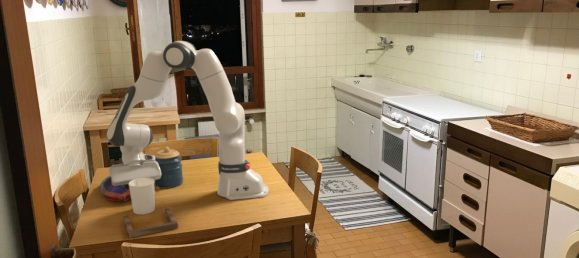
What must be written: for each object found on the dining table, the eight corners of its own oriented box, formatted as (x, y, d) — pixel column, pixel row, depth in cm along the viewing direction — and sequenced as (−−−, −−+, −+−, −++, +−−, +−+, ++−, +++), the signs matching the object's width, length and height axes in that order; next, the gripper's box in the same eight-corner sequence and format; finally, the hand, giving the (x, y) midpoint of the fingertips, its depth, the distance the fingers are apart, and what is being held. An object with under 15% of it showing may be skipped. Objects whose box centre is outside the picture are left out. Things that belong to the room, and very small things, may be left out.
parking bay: (124, 221, 177) (123, 216, 177) (169, 212, 184) (168, 207, 184) (129, 238, 164) (129, 232, 163) (178, 228, 171) (177, 223, 170)
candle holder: (125, 213, 184) (122, 184, 182) (142, 204, 193) (139, 176, 190) (146, 216, 181) (143, 187, 178) (161, 207, 190) (159, 179, 187)
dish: (136, 179, 223) (135, 169, 222) (139, 203, 195) (138, 191, 194) (101, 184, 218) (100, 173, 216) (99, 208, 190) (98, 197, 188)
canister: (149, 187, 211) (146, 150, 207) (162, 178, 224) (159, 142, 220) (176, 189, 209) (174, 151, 205) (187, 179, 222) (185, 143, 217)
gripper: (108, 162, 194) (112, 191, 188) (158, 155, 202) (164, 183, 196) (108, 169, 199) (112, 198, 192) (157, 162, 207) (163, 190, 201)
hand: (139, 190), depth 194 cm, fingers closed
